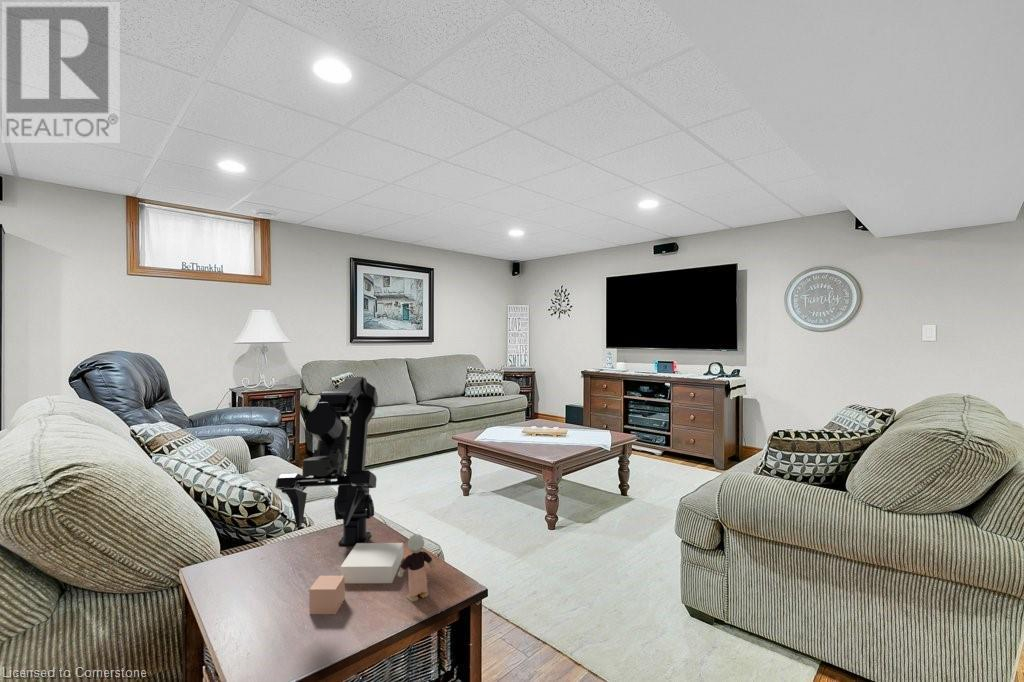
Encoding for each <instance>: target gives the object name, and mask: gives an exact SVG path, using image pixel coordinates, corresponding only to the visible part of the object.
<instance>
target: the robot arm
mask: <svg viewBox="0 0 1024 682" xmlns="http://www.w3.org/2000/svg"><path fill="white" fill-rule="evenodd" d="M367 380H368V379H367V377H364V376H348V377H345V379H344V382H342V383H341V384H340V385H339V386H338V387H337V388H335V389H326V390H323V391H321V393H320V396H319V395H318V397H317V399H316V401H315V402H314V405H313V407H312V409H311V411H310V412H309V413H308V415H307V416H306V418H305V421H304V423H305V424H304V425H305V427H306V429H307V431H308V432H309V433H310V434H311V435H312V436H313V437H315V438H316V439H317V447H316V449H314V450H313V453H312V454H313V455H312V457H308V458H305V459H302V474H299V473H281V474H280V475H278V477H277V479H276V481H275V486H274V487H275V489H277V490H279V491H281V493H282V494H285V495H287V496H288V499H289V501H290V504H291V506H292V511H293V515H294V520H295V524H296V526H295V527H296V528H298V529H299V528H301V527H302V525H303V522H304V516H305V509H306V508H305V507H306V502H307V495H308V492H305V491H304V490H306V489H307V487H308V488H310V487H331V486H333V487H335V486H337V494H336V495H335V497H334V502H333V504H334V505H333V509H334V515H335V517H334V518H335V520H336V521H339V520H342V537H341V538H340V540H339V541H338V543H337V544H338V546H355V545H356V543H367V541H368V540H369V538H370V536H371V534H372V532H371V531H367V519H368V520H369V519H371V518H372V517H374V516H375V506H374V501H373V499H372V495H371V494H370V489H376V488H377V476H376V474H374V473H373V472H372V471H370V470H369V469H365V466H366V454H367V452H366V451H367V441H368V439H367V438H368V428H369V427H368V425H369V423H370V421H371V420H372V419H373V417H374V416H375V413H376V408H377V407H378V401H379V400H378V399H379V398H378V397H379V396H378V392H377V388H376V387H375V386H373V385H372V384H371V383H369V382H368V381H367ZM345 417H346V418H347V417H348V419H349V420H350V426H348V424H347V423H346V422H345V420H344V419H342V418H345ZM349 427H350V428H349ZM348 429H349V430H348ZM348 432H349V437H348ZM347 440H348V447H347ZM347 449H348V450H347ZM346 450H347V453H346ZM345 460H346V471H345V469H344V467H345ZM344 471H345V473H344Z"/></svg>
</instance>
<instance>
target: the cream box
mask: <svg viewBox="0 0 1024 682" xmlns="http://www.w3.org/2000/svg"><path fill="white" fill-rule="evenodd" d="M403 560H404V542H365V543H356V545H353V547H352V549H351V550H350V552H349V554H348V555H347V556H346V558H345V559H344V561H343V562H342V564H341V565H340V567H339V568H340V575H339V576H345V584H393V582H394V579H395V577H396V575H397V574H398V572H399V569H400V566H401V564H402V562H403ZM401 561H402V562H401Z"/></svg>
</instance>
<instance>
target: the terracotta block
mask: <svg viewBox="0 0 1024 682" xmlns="http://www.w3.org/2000/svg"><path fill="white" fill-rule="evenodd" d="M345 584H346V583H345V576H340V575H319V576H318V577H317V579H316V580H315V581H314V583H313V584H312V585H311V587H310V588H309V589H308V592H309V594H308V595H309V596H308V597H309V598H308V599H309V600H308V601H309V604H308V605H309V611H308V612H309V615H310V614H336V613H338V612H339V610H340V609H341V607H342V605H343V604H344V602H345V600H346V596H345V595H346V589H345V586H346V585H345ZM343 601H344V602H343ZM341 604H342V605H341ZM340 606H341V607H340ZM339 608H340V609H339ZM338 609H339V610H338ZM337 611H338V612H337ZM336 615H337V614H336Z"/></svg>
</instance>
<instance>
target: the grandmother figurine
mask: <svg viewBox="0 0 1024 682" xmlns="http://www.w3.org/2000/svg"><path fill="white" fill-rule="evenodd" d="M424 546H425V540H424V538H423V536H422V535H421V534H418V533H417V534H413V535H411V536H410V537H409V539H408V541H407V548H408V549H409V550H410V552H411V554H409V555H407V556H406V557H405V558H403V560H402V562H401V564H400V566H399V569H398V571H397V577H399V578H402V577H403V576H404V572H406V570H407V569H408V574H407V575H408V594H407V595H406V596H407V597H406V599H407V600H409V601H411V602H413V603H415V602H417V601H418V600H419V597H420V598H421V597H422V599H425V598H428V597H429V590H428V581H427V579H428V578H427V571H426V565H425V562H426V563H427V564H428V565H429V568H430V569H434V568H435V566H436V565H435V564H436V563H434V560H433V558H432V557H431V556H430V554H429V553H427V552H426V551H422V549H423V547H424ZM418 595H419V596H418ZM427 596H428V597H427ZM424 597H425V598H424ZM414 601H415V602H414Z"/></svg>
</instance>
